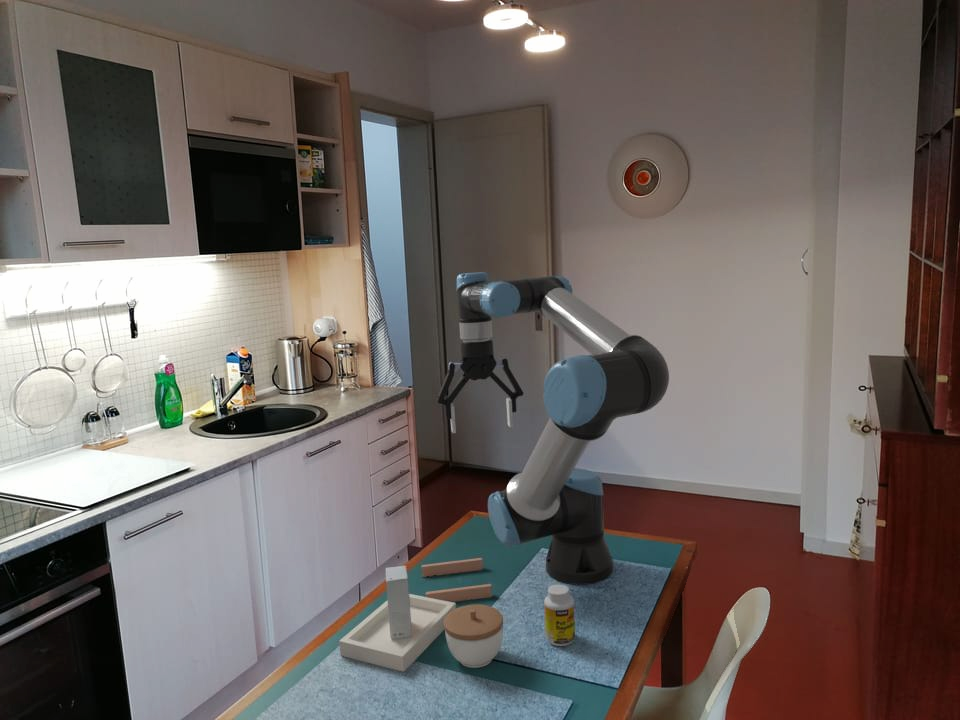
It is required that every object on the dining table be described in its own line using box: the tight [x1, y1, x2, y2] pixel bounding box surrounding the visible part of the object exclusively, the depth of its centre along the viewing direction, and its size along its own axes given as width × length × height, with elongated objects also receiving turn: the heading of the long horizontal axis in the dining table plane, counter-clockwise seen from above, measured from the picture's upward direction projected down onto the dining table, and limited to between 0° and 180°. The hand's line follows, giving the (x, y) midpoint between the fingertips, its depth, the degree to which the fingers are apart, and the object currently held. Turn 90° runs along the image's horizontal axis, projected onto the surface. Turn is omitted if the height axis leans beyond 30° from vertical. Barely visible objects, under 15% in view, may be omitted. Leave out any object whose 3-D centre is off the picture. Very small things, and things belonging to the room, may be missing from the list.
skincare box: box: [385, 565, 412, 639], centre depth 137 cm, size 6×4×12 cm
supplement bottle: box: [543, 584, 576, 647], centre depth 133 cm, size 6×6×10 cm
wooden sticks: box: [421, 557, 493, 603], centre depth 157 cm, size 14×14×2 cm
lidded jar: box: [444, 604, 504, 669], centre depth 129 cm, size 11×11×9 cm
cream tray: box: [338, 593, 457, 673], centre depth 138 cm, size 20×14×3 cm
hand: (482, 429), depth 167 cm, fingers open, 13 cm apart
